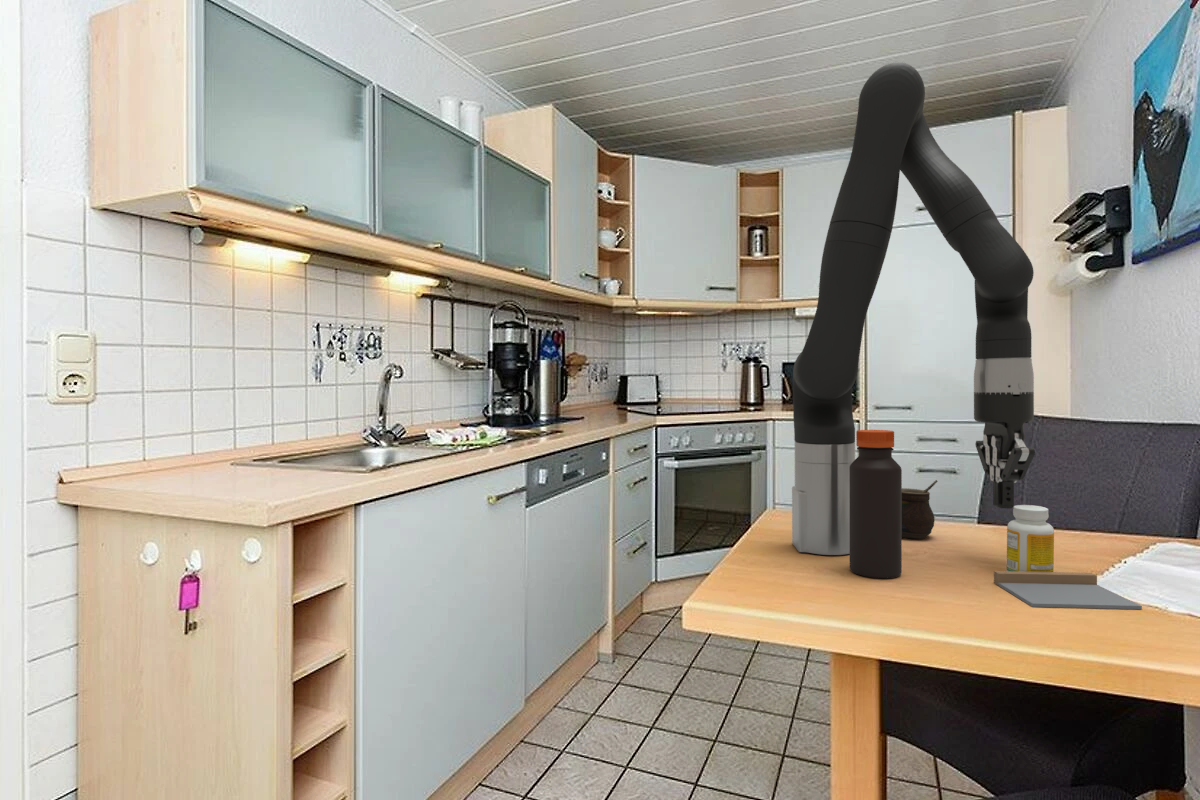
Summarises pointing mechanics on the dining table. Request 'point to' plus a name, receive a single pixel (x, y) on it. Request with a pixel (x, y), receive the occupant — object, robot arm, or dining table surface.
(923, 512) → the mate gourd
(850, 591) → the dining table surface
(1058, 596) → the plate
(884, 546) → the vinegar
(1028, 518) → the supplement bottle
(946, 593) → the dining table surface
